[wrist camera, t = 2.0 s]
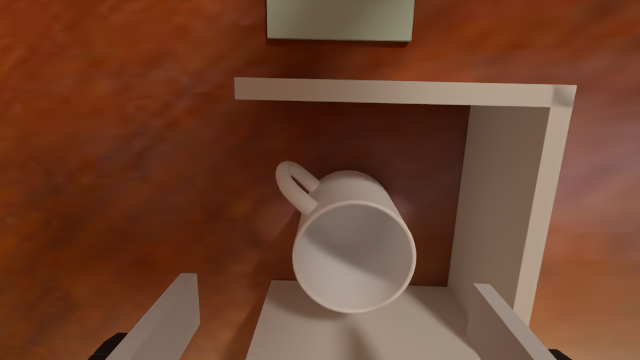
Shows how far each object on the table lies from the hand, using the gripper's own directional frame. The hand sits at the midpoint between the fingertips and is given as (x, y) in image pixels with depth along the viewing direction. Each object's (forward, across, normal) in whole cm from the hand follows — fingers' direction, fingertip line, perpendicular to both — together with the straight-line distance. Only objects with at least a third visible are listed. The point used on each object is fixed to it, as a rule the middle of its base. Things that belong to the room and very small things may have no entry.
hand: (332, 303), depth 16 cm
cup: (+17, 0, 0) cm, 17 cm away
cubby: (+16, +4, +1) cm, 17 cm away
